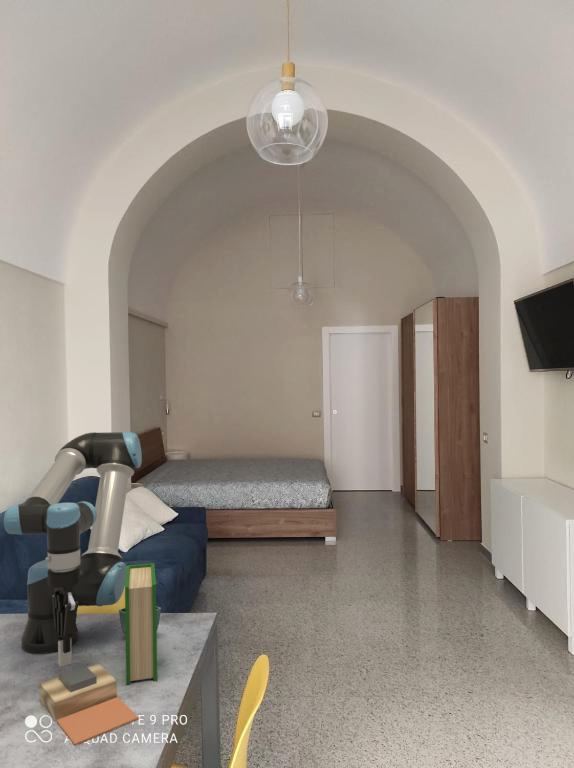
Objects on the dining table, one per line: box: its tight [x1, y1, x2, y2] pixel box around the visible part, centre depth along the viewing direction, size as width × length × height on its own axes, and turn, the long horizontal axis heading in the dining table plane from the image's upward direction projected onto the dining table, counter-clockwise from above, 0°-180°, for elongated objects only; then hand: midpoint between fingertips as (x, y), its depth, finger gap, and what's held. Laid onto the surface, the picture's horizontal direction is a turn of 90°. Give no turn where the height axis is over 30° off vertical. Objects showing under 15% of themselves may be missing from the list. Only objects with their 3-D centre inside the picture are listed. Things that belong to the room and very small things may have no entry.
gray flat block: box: [58, 663, 97, 692], centre depth 135 cm, size 8×6×2 cm
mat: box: [56, 696, 140, 746], centre depth 125 cm, size 11×14×1 cm
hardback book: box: [124, 562, 158, 686], centre depth 150 cm, size 18×7×24 cm, turn 14°
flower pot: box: [118, 605, 162, 637], centre depth 165 cm, size 9×9×9 cm
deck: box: [39, 663, 118, 722], centre depth 134 cm, size 11×14×4 cm
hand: (65, 663), depth 141 cm, fingers closed
